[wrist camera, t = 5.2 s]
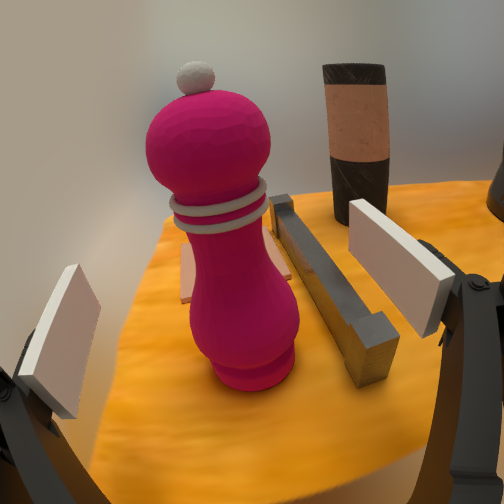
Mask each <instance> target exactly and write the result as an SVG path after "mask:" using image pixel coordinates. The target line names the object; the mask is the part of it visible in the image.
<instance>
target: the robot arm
mask: <svg viewBox="0 0 504 504" xmlns="http://www.w3.org/2000/svg"><path fill="white" fill-rule="evenodd" d="M487 205H488V207H489V209H490V210H491V211H492V212H493V213H494V214H495V215H496V216H497V217H498V218H500V219H501V220H503V221H504V144H503V156H502V161H501V163H500V166H499V168H498V170H497V172H496V175H495V177H494V179H493V181H492V183H491V185H490V187H489V190H488V197H487ZM349 251H350V252H351V254H352V255H353V256H354V257H355V258H356V259H357V260H358V261H359V263H360V264H361V265H362V266H363V267H364V268H365V270H366V271H367V272H368V273H369V274H370V275H371V277H372V278H373V279H374V280H375V281H376V282H377V284H378V285H379V286H380V287H381V288H382V290H383V291H384V292H385V293H386V294H387V296H388V297H389V298H390V299H391V300H392V302H393V303H394V304H395V305H396V307H397V308H398V309H399V310H400V312H401V313H402V314H403V315H404V317H405V318H406V319H407V320H408V322H409V323H410V324H411V325H412V327H413V328H414V329H415V331H416V332H417V333H418V334H419V336H420V337H421V338H425V337H427V336H429V335H431V334H433V333H435V332H437V329H438V327H439V324H440V321H442V322H443V323H444V325H445V326H446V327H445V330H444V332H443V335H442V337H441V340H440V342H439V345H438V346H441V344H442V342H443V348H442V359H441V369H440V377H439V385H438V392H437V398H436V404H435V410H434V415H433V420H432V425H431V430H430V435H429V439H428V443H427V447H426V451H425V455H424V459H423V463H422V467H421V470H420V473H419V477H418V480H417V483H416V486H415V489H414V492H413V494H412V496H411V498H410V500H409V501H408V503H407V504H501V500H502V495H503V487H504V485H503V481H502V479H501V478H499V477H498V476H497V473H496V468H497V461H498V454H499V445H500V435H501V421H502V401H503V406H504V274H503V277H502V280H501V282H492V283H490V282H489V281H488V280H487V279H486V278H484V277H483V276H481V275H478V274H467V275H466V274H465V273H464V272H462V271H461V270H460V269H459V268H458V267H457V266H456V265H455V264H453V263H452V262H451V261H450V260H449V259H448V258H446V257H444V255H443V254H442V253H441V252H438V250H437V249H436V248H435V247H433V246H432V245H431V244H429V243H427V242H425V241H423V240H420V239H419V240H415V239H414V238H413V237H412V236H411V235H409V234H408V233H407V232H406V231H404V230H403V229H402V228H401V227H399V226H398V225H397V224H396V223H394V222H393V221H392V220H390V219H389V218H388V217H387V216H385V215H384V214H383V213H381V212H380V211H379V210H377V209H376V208H375V207H373V206H372V205H371V204H369V203H368V202H367V201H365V200H364V199H359V200H353V201H349ZM100 310H101V306H100V304H99V302H98V300H97V299H96V297H95V295H94V293H93V291H92V289H91V287H90V285H89V283H88V281H87V279H86V277H85V275H84V273H83V271H82V269H81V267H80V265H79V263H78V264H74V265H70V266H67V267H66V268H65V270H64V272H63V274H62V276H61V278H60V279H59V281H58V283H57V285H56V287H55V290H54V291H53V293H52V295H51V297H50V300H49V302H48V304H47V306H46V308H45V310H44V312H43V314H42V316H41V319H40V321H39V323H38V326H37V328H36V329H34V330H33V332H32V333H31V334H30V336H29V337H28V339H27V341H26V344H25V346H24V349H23V351H22V354H21V356H20V359H19V361H18V364H17V366H16V369H15V372H14V375H13V378H12V379H11V378H10V377H9V375H8V374H7V373H6V372H5V371H4V370H3V369H2V368H1V367H0V504H111V503H110V502H109V500H108V499H107V498H106V497H105V495H104V494H103V493H102V492H101V490H100V489H99V488H98V486H97V485H96V484H95V482H94V481H93V480H92V478H91V477H90V476H89V474H88V473H87V471H86V470H85V468H84V467H83V466H82V464H81V463H80V461H79V460H78V458H77V457H76V455H75V454H74V452H73V451H72V449H71V447H70V446H69V444H68V442H67V441H66V439H65V437H64V436H63V434H62V433H61V431H60V429H59V427H58V425H57V424H56V422H55V421H54V420H53V419H52V418H51V417H52V412H54V413H56V415H58V416H59V417H60V418H61V419H77V413H78V407H79V401H80V395H81V389H82V384H83V379H84V374H85V370H86V365H87V361H88V356H89V352H90V348H91V344H92V340H93V336H94V332H95V327H96V324H97V321H98V317H99V313H100Z"/></svg>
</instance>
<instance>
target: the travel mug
mask: <svg viewBox="0 0 504 504" xmlns="http://www.w3.org/2000/svg"><path fill="white" fill-rule="evenodd" d="M323 77H324V84H325V85H324V86H325V96H326V108H327V120H328V133H329V149H330V162H331V174H332V187H333V202H334V215H335V218H336V220H337V221H338V222H340V223H342V224H344V225H346V226H349V201H353V200H359V199H364V200H365V201H367V202H368V203H369V204H371V205H372V206H373V207H375V208H376V209H377V210H379V211H380V212H381V213H383V214H384V215H385V216H386V207H387V195H388V181H389V160H390V158H389V156H390V145H389V144H390V142H389V114H388V98H387V86H386V76H385V67H384V65H380V64H364V63H342V64H326V65H323Z"/></svg>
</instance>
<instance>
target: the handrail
mask: <svg viewBox="0 0 504 504" xmlns="http://www.w3.org/2000/svg"><path fill="white" fill-rule="evenodd" d="M268 199H269V207H270V214H271V222H272V230H273V232H274V233H275V235H276V237H277V238H279V239H280V241H281V243H282V244H283V246H284V248H285V250H286V251H287V253H288V255H289V257H290V259H291V260H292V262H293V264H294V266H295V268H296V269H297V271H298V273H299V275H300V276H301V278H302V280H303V282H304V284H305V286H306V287H307V289H308V291H309V293H310V295H311V296H312V298H313V300H314V302H315V304H316V306H317V307H318V309H319V311H320V313H321V315H322V317H323V318H324V320H325V322H326V324H327V326H328V328H329V330H330V332H331V333H332V335H333V337H334V339H335V341H336V343H337V345H338V347H339V348H340V350H341V352H342V354H343V356H344V358H345V365H346V367H347V369H348V371H349V373H350V375H351V377H352V379H353V381H354V383H355V385H356V387H357V389H358V388H360V387H363V386H366V385H368V384H371V383H373V382H376V381H378V380H381V379H383V378H386V377H387V376H388V373H389V370H390V367H391V364H392V361H393V358H394V355H395V352H396V348H397V345H398V342H399V338H400V335H399V333H398V332H397V331H396V329H395V328H394V326H393V325H392V324H391V322H390V321H389V320H388V318H387V317H386V316H385V314H384V313H383V311H381V312H378V313H375V314H371V312H370V311H369V310H368V308H367V307H366V305H365V304H364V303H363V301H362V300H361V298H360V297H359V296H358V294H357V293H356V291H355V290H354V289H353V287H352V286H351V285H350V283H349V282H348V281H347V279H346V278H345V276H344V275H343V274H342V272H341V271H340V270H339V268H338V267H337V266H336V264H335V263H334V262H333V260H332V259H331V258H330V256H329V255H328V254H327V253H326V251H325V250H324V249H323V247H322V246H321V245H320V243H319V242H318V241H317V239H316V238H315V237H314V236H313V234H312V233H311V232H310V231H309V229H308V228H307V227H306V225H305V224H304V223H303V222H302V220H301V219H300V218H299V217H298V215H297V214H296V213H295V212H294V205H293V200H292V199H291V198H290V196H289V195H288V194H284V195H279V196H274V197H269V198H268Z"/></svg>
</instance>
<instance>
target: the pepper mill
mask: <svg viewBox="0 0 504 504" xmlns="http://www.w3.org/2000/svg"><path fill="white" fill-rule="evenodd" d="M214 81H215V75H214V72H213V70H212V68H211V67H210V66H209V65H208V64H206V63H204V62H199V61H195V62H190V63H187V64H185V65H184V66H183V67H182V68H181V69H180V70H179V72H178V75H177V85H178V87H179V89H180V90H181V92H183V93H184V94H186V95H185V96H182V97H180V98H178V99H176V100H174V101H172V102H171V103H169V104H168V105H167V106H165V107H164V108H163V109H162V110H161V111H160V112H159V113H158V114H157V115H156V116H155V118H154V119H153V121H152V123H151V124H150V127H149V129H148V132H147V136H146V156H147V161H148V165H149V168H150V171H151V172H152V174H153V175H154V177H155V179H156V180H157V181H158V182H159V183H161V184H162V185H163V186H165V187H166V188H168V189H170V190H171V191H172V192H173V193H174V194H173V195H172V196H171V198H170V202H169V204H170V208H171V209H172V210H173V211H174V223H175V225H176V226H177V227H178V228H179V229H181V230H183V231H185V232H186V234H187V236H188V239H189V241H190V244H191V246H192V250H193V255H194V259H195V264H196V277H195V284H194V288H193V292H192V297H191V304H190V327H191V330H192V334H193V338H194V340H195V343H196V345H197V346H198V348H199V349H200V351H201V352H202V353H203V354H204V355H205V356H206V357H208V358H209V359H210V361H211V363H212V366H213V368H214V371H215V373H216V375H217V376H218V378H219V379H220V380H221V381H222V382H223V383H224V384H226V385H227V386H229V387H231V388H233V389H236V390H240V391H260V390H264V389H267V388H270V387H272V386H274V385H276V384H278V383H279V382H280V381H282V380H283V379H284V378H285V377H286V376H287V375H288V373H289V372H290V370H291V369H292V367H293V364H294V360H295V350H294V339H295V337H296V335H297V332H298V329H299V322H300V318H299V311H298V306H297V301H296V298H295V296H294V294H293V292H292V290H291V288H290V286H289V284H288V282H287V281H286V280H285V278H284V277H283V275H282V274H281V273H280V272H279V270H278V269H277V268H276V266H275V265H274V263H273V262H272V260H271V259H270V257H269V254H268V252H267V250H266V247H265V242H264V237H263V233H262V215H263V214H264V213H265V212H266V210H267V209H268V206H269V200H268V198H267V196H266V193H265V191H266V188H267V185H266V182H265V180H264V179H263V178H261V177H260V176H258V174H259V172H260V170H261V169H262V167H263V166H264V164H265V163H266V161H267V159H268V157H269V153H270V147H271V142H270V132H269V128H268V124H267V122H266V120H265V118H264V116H263V114H262V112H261V111H260V109H259V108H258V107H257V106H256V105H255V104H254V103H253V102H252V101H250V100H249V99H248V98H246V97H244V96H242V95H240V94H237V93H233V92H229V91H222V90H210V89H211V88H212V86H213V84H214Z"/></svg>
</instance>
